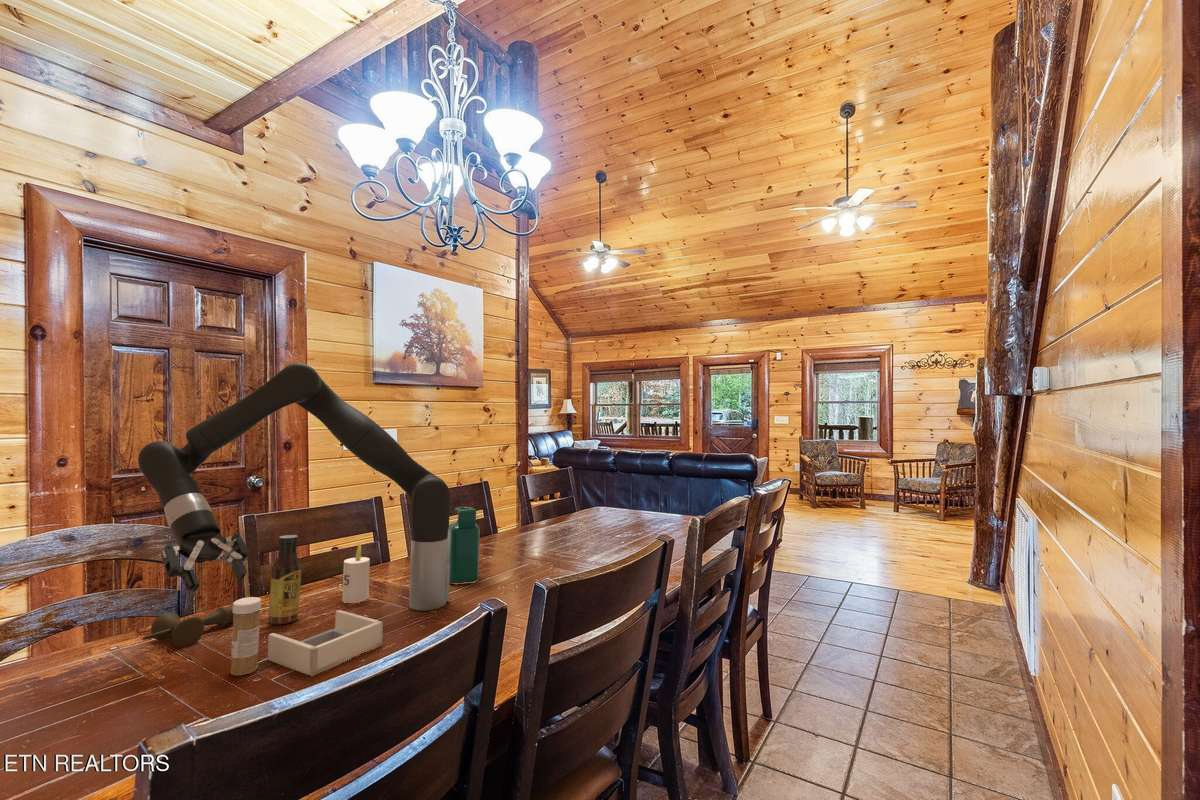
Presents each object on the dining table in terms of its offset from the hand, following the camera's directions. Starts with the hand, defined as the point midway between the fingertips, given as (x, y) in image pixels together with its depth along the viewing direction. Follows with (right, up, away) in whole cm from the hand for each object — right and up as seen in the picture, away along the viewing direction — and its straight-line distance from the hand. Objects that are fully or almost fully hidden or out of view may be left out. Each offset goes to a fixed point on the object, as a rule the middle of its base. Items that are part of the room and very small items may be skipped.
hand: (219, 583), depth 108 cm
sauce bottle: (+1, -16, +20) cm, 26 cm away
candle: (+11, -17, +35) cm, 40 cm away
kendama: (-13, -16, +11) cm, 23 cm away
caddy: (+20, -16, +4) cm, 25 cm away
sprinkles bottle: (+8, -15, -5) cm, 18 cm away
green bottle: (+35, -18, +53) cm, 66 cm away
